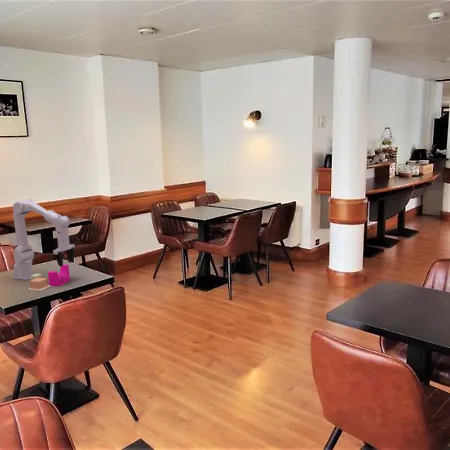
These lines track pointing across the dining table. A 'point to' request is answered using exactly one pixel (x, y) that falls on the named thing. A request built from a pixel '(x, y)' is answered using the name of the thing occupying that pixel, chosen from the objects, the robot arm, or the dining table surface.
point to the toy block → (59, 276)
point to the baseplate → (39, 289)
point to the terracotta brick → (39, 283)
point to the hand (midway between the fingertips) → (65, 264)
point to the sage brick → (36, 276)
